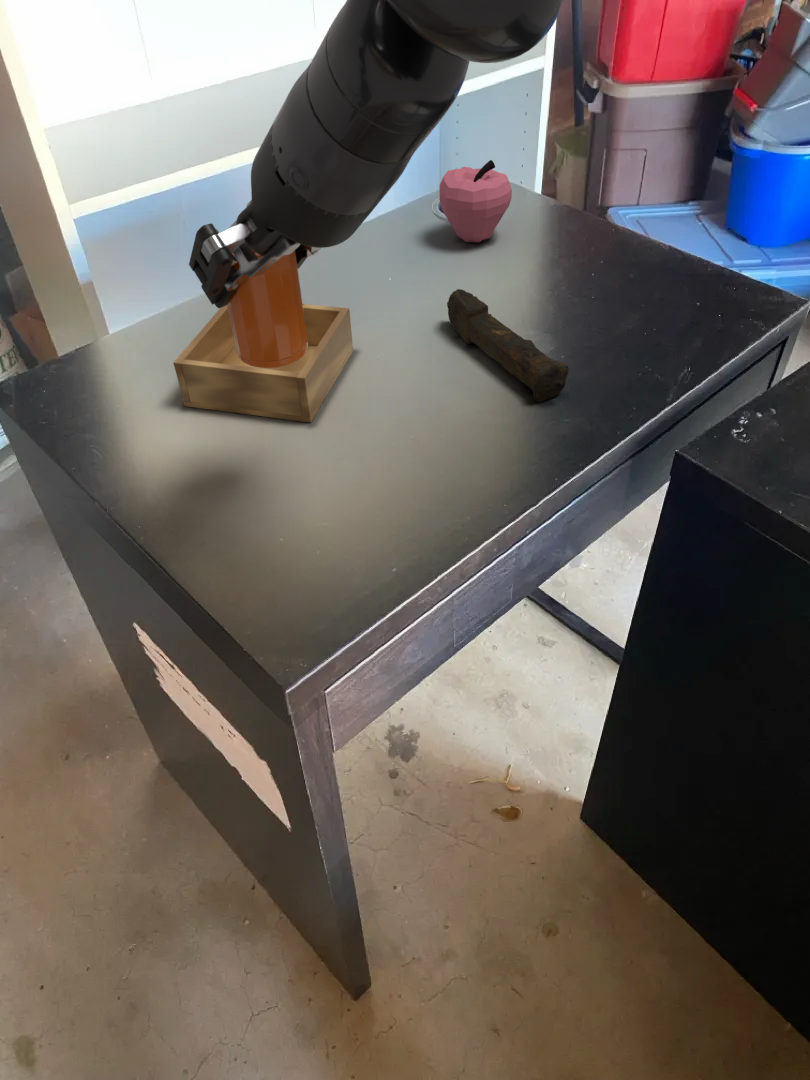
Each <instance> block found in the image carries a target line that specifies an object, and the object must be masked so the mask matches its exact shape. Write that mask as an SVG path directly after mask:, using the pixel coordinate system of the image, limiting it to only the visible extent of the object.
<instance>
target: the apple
mask: <svg viewBox="0 0 810 1080" xmlns="http://www.w3.org/2000/svg"><path fill="white" fill-rule="evenodd" d="M495 168H496V164H495V162H494V161H493V160H492V159H490V160H489V161H487V162H486V163H484V165H483V166H482V167H481V168H473V167H469V166H462V167H460V168H455V169H448V170H446V172H445V174H444V175H443V177H442V178H441V181H440V183H439V190H438V191H439V203H440V207H441V211H442V212H443V214H444V215H445V217H446V219H447V220H448V222H449V224H450V225H451V226H452V229H453V231H454V232H455V234H456V236H457V237H458V238H460V239H461V240H463V241H464V242H465V243H480V242H482V241H485V240H488V239H490V238H491V237H492V236H493V233H494V231H495V229H496V227H497V226H498V225H499V223H500V221H501V220H502V218H503V217H504V215H505V213H506V211H507V210H508V208H509V207H510V204H511V200H512V196H513V189H512V186H511V182H510V180H509V178H508V175H507V174H506V173H502V172H499V171H496V170H494V169H495Z"/></svg>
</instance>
